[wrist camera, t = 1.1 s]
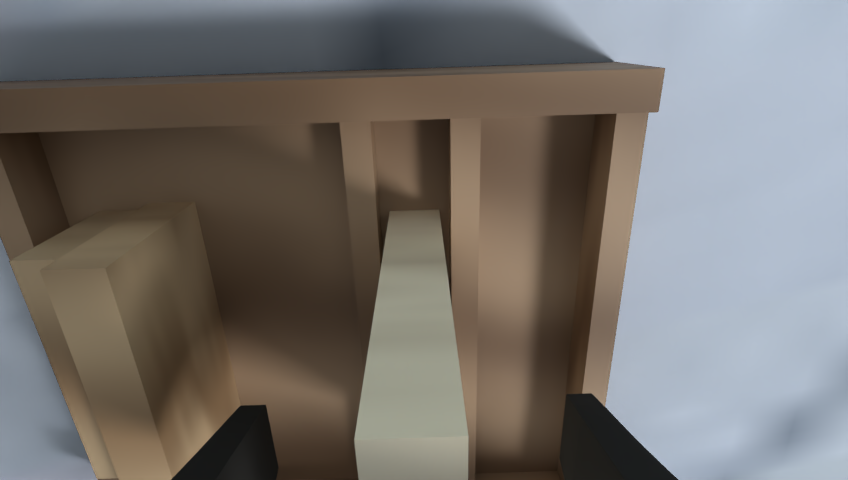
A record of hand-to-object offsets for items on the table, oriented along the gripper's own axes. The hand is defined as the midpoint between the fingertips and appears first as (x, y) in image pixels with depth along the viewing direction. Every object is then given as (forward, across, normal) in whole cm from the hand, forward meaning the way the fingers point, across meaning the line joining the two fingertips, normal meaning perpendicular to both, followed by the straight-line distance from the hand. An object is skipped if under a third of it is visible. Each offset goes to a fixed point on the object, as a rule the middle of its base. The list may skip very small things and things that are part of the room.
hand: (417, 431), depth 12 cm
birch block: (+5, 0, 0) cm, 5 cm away
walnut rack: (+6, +3, 0) cm, 7 cm away
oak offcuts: (+5, +8, 0) cm, 9 cm away
